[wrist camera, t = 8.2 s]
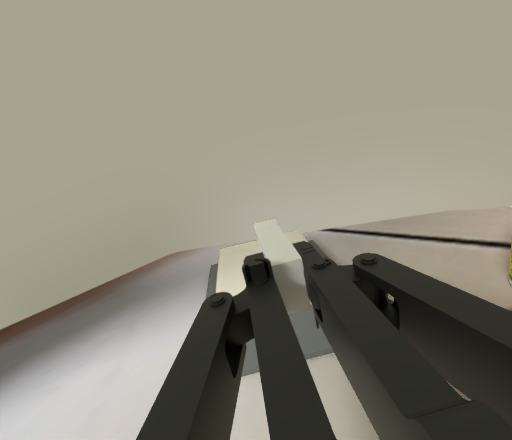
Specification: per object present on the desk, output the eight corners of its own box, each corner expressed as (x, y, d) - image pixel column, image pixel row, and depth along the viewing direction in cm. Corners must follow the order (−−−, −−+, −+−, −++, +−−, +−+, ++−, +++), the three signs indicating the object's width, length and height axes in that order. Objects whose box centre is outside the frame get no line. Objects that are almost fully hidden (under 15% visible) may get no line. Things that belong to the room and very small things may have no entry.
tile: (336, 276, 24) (298, 229, 38) (214, 307, 24) (219, 249, 37) (339, 297, 25) (300, 244, 38) (221, 328, 25) (223, 263, 38)
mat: (393, 336, 20) (392, 331, 20) (195, 388, 19) (193, 383, 19) (312, 243, 39) (312, 240, 39) (211, 268, 39) (211, 265, 38)
